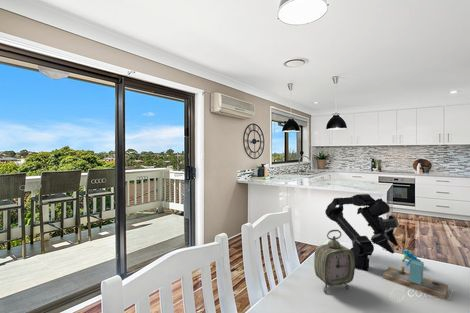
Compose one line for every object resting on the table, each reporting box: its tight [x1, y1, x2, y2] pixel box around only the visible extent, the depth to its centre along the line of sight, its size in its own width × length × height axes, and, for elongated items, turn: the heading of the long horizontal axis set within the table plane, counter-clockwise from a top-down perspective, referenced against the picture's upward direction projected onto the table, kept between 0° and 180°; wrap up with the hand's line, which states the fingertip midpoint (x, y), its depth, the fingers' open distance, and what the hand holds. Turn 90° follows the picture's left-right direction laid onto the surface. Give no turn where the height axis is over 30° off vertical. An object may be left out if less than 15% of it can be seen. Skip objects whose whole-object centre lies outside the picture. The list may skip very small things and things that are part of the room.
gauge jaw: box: [408, 259, 425, 285], centre depth 108 cm, size 4×7×8 cm, turn 134°
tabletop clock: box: [313, 229, 356, 294], centre depth 106 cm, size 14×9×25 cm, turn 105°
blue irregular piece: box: [401, 249, 422, 267], centre depth 128 cm, size 11×6×10 cm
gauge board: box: [382, 265, 449, 300], centre depth 110 cm, size 22×10×5 cm, turn 44°
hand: (395, 249), depth 114 cm, fingers open, 9 cm apart
